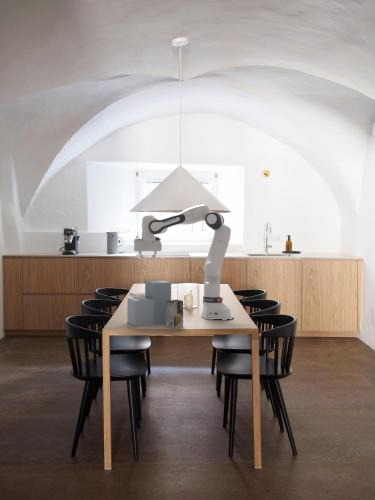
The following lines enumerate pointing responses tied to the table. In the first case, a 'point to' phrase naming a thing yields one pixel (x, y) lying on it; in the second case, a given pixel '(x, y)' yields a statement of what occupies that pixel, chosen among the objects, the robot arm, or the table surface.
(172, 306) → the coffee box
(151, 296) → the stepped stand
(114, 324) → the table surface
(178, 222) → the robot arm
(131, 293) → the long bar
